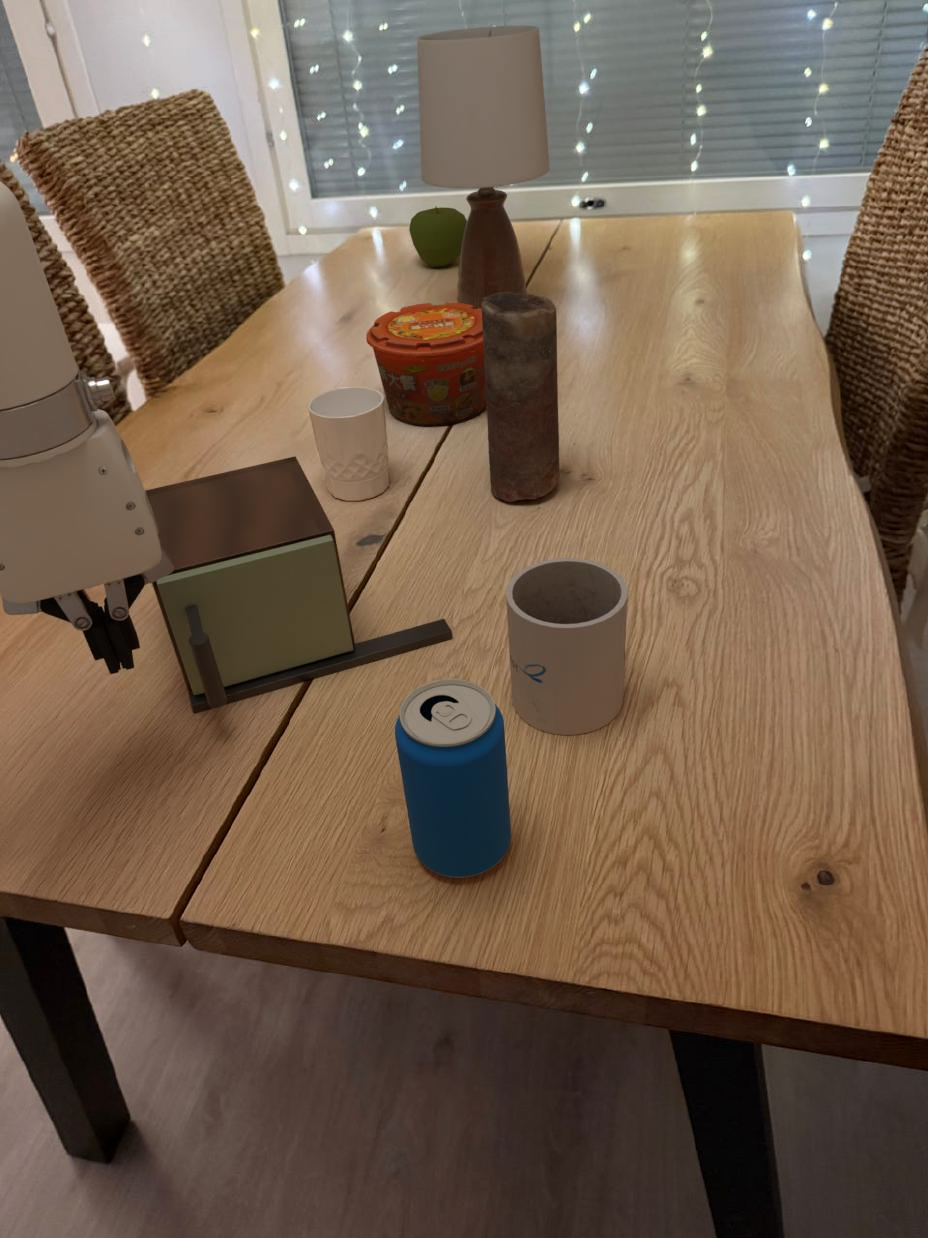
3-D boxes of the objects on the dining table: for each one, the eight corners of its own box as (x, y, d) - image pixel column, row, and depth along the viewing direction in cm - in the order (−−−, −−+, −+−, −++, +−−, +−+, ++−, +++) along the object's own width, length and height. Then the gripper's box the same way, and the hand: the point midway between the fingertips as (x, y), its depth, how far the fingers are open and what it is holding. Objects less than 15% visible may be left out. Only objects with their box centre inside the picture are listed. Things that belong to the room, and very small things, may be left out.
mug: (636, 726, 68) (641, 619, 62) (521, 742, 68) (516, 635, 62) (598, 627, 78) (599, 526, 72) (497, 640, 78) (491, 540, 72)
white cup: (364, 463, 106) (351, 380, 100) (409, 483, 101) (399, 397, 95) (309, 489, 102) (292, 404, 96) (354, 512, 97) (339, 424, 91)
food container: (403, 444, 109) (392, 356, 102) (359, 398, 121) (347, 316, 114) (523, 412, 113) (520, 326, 107) (470, 371, 125) (464, 291, 119)
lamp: (559, 288, 151) (556, 20, 129) (541, 328, 136) (534, 35, 114) (449, 288, 155) (428, 29, 133) (420, 327, 141) (391, 44, 118)
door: (202, 737, 69) (164, 623, 63) (192, 689, 74) (155, 578, 67) (371, 687, 72) (351, 574, 66) (351, 644, 77) (330, 534, 70)
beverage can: (465, 792, 64) (451, 659, 57) (532, 843, 60) (526, 708, 53) (394, 845, 61) (369, 712, 54) (459, 903, 57) (442, 767, 50)
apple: (457, 274, 161) (453, 214, 155) (403, 272, 164) (396, 213, 158) (479, 256, 169) (475, 198, 163) (426, 254, 172) (421, 197, 166)
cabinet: (193, 713, 73) (151, 590, 66) (171, 606, 85) (134, 492, 78) (452, 638, 78) (440, 516, 71) (397, 547, 91) (381, 436, 83)
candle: (508, 467, 102) (499, 284, 90) (570, 477, 100) (569, 289, 88) (479, 499, 97) (465, 310, 85) (543, 511, 94) (539, 316, 82)
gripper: (148, 365, 57) (220, 601, 69) (-110, 420, 54) (10, 659, 65) (160, 410, 52) (236, 660, 63) (-128, 474, 48) (7, 727, 59)
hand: (121, 659), depth 64 cm, fingers closed
